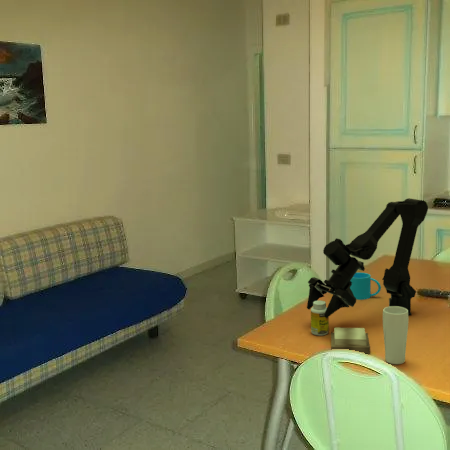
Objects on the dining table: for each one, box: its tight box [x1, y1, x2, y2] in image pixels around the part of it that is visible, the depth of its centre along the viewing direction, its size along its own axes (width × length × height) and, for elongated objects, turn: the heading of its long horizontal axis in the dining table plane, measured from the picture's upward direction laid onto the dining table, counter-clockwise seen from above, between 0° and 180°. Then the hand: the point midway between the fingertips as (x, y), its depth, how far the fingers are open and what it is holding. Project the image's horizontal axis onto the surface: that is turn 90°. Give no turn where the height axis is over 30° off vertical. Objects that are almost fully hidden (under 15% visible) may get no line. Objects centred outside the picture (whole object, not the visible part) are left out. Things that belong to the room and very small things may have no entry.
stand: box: [330, 327, 371, 355], centre depth 175 cm, size 11×11×4 cm
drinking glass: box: [382, 305, 409, 365], centre depth 162 cm, size 7×7×15 cm
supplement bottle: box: [310, 300, 330, 337], centre depth 185 cm, size 6×6×10 cm
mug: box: [350, 271, 382, 301], centre depth 218 cm, size 12×8×8 cm
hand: (316, 312), depth 184 cm, fingers open, 9 cm apart
